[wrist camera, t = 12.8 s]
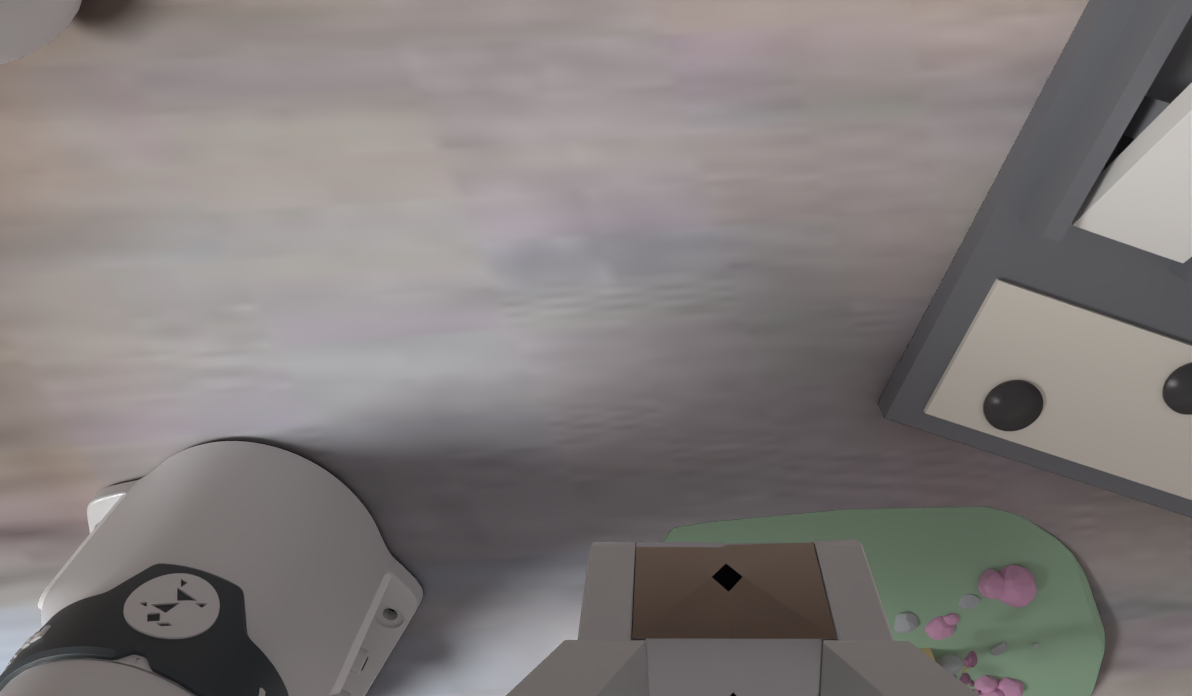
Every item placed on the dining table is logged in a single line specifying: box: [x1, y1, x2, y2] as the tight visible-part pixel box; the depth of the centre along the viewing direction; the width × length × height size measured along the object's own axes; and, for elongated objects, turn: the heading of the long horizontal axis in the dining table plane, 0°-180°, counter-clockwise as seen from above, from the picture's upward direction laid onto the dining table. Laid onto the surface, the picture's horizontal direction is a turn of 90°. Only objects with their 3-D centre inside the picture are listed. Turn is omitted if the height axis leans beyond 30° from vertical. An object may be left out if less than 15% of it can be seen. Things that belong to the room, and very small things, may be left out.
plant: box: [663, 507, 1105, 696], centre depth 46 cm, size 25×21×9 cm
